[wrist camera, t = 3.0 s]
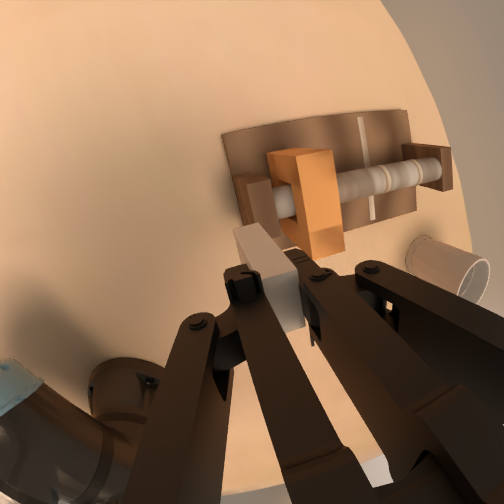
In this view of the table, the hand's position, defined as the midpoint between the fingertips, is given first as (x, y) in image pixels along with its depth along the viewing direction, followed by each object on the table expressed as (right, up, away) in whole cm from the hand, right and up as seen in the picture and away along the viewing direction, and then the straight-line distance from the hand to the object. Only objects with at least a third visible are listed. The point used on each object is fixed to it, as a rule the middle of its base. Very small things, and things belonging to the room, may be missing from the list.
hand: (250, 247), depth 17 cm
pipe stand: (+10, +9, +16) cm, 21 cm away
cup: (+26, -1, +23) cm, 35 cm away
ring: (+4, +6, +13) cm, 14 cm away
